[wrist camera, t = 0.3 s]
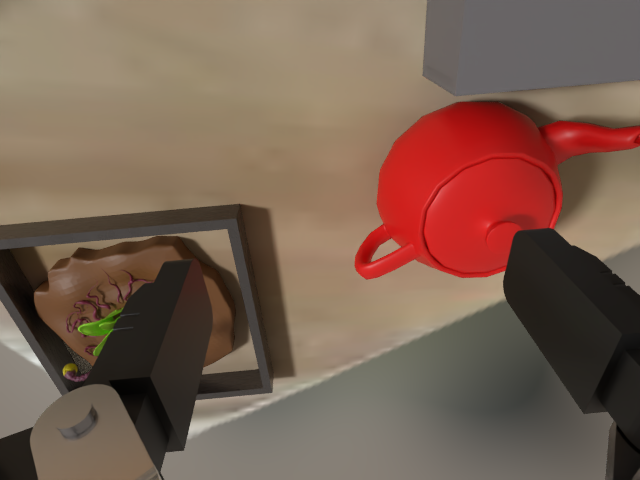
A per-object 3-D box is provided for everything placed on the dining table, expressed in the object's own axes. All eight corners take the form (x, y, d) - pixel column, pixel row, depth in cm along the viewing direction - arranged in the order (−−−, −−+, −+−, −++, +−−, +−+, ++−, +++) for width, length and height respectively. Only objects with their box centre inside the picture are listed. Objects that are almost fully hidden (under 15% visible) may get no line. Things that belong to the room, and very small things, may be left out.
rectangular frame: (-15, 226, 39) (-37, 243, 36) (239, 203, 39) (236, 218, 37) (83, 391, 52) (72, 411, 50) (273, 373, 52) (272, 392, 50)
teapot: (382, 281, 46) (409, 365, 35) (306, 176, 38) (311, 244, 28) (603, 163, 39) (714, 224, 29) (562, 12, 32) (690, 21, 22)
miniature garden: (264, 339, 50) (257, 420, 40) (129, 383, 52) (93, 469, 43) (177, 207, 40) (141, 274, 30) (15, 271, 42) (-65, 351, 33)
